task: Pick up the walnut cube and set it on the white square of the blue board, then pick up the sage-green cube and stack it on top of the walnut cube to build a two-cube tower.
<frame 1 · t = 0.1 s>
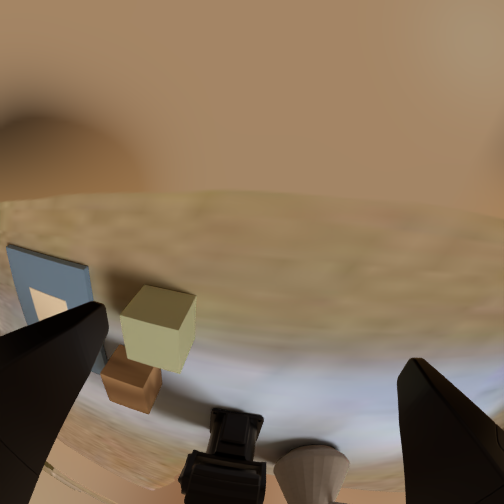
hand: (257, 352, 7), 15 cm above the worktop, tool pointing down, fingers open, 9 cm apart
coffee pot: (340, 445, 33), on the worktop
sage cube: (170, 311, 26), on the worktop
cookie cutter: (40, 457, 81), on the worktop
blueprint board: (56, 312, 28), on the worktop
walnut cube: (141, 364, 29), on the worktop
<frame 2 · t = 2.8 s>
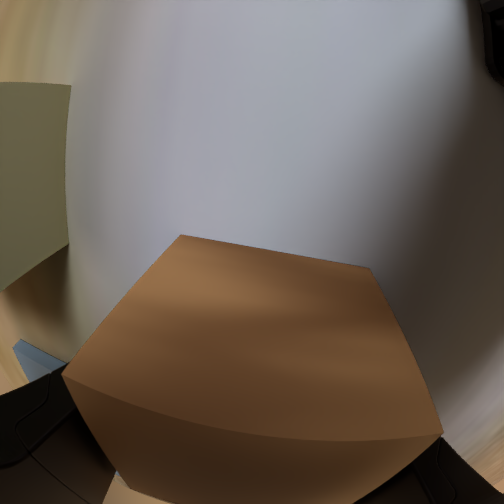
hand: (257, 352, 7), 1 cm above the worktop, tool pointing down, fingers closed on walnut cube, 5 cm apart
sage cube: (21, 165, 7), on the worktop
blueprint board: (161, 456, 13), on the worktop
walnut cube: (260, 328, 8), on the worktop, touching gripper
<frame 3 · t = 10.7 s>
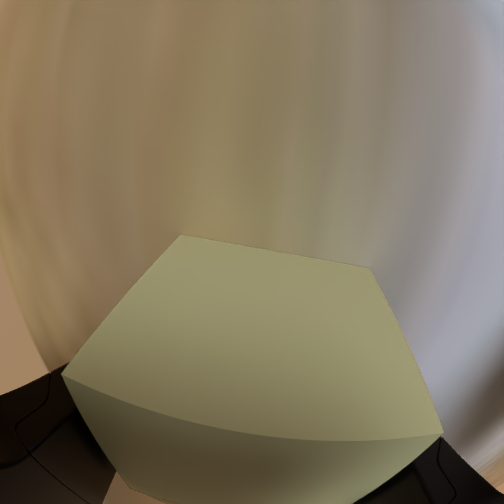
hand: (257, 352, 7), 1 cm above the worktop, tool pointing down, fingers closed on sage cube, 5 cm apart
sage cube: (260, 328, 8), on the worktop, touching gripper
when the fingers open (8 cm above the worktop, at t = 14.1 s): sage cube stays where it is, resting on walnut cube.
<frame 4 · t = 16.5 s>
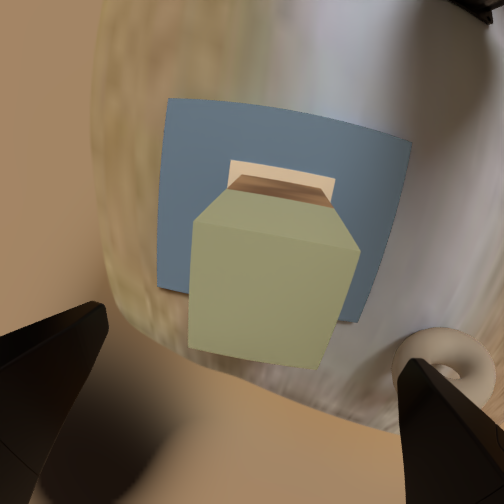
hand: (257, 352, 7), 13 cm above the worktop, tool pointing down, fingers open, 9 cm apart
sage cube: (271, 248, 14), point 6 cm above the worktop, touching walnut cube
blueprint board: (275, 214, 19), on the worktop
walnut cube: (274, 218, 18), point 1 cm above the worktop, touching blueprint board, sage cube
donut: (426, 332, 22), on the worktop
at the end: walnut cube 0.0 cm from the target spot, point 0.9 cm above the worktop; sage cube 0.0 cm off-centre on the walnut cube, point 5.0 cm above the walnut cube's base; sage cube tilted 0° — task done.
